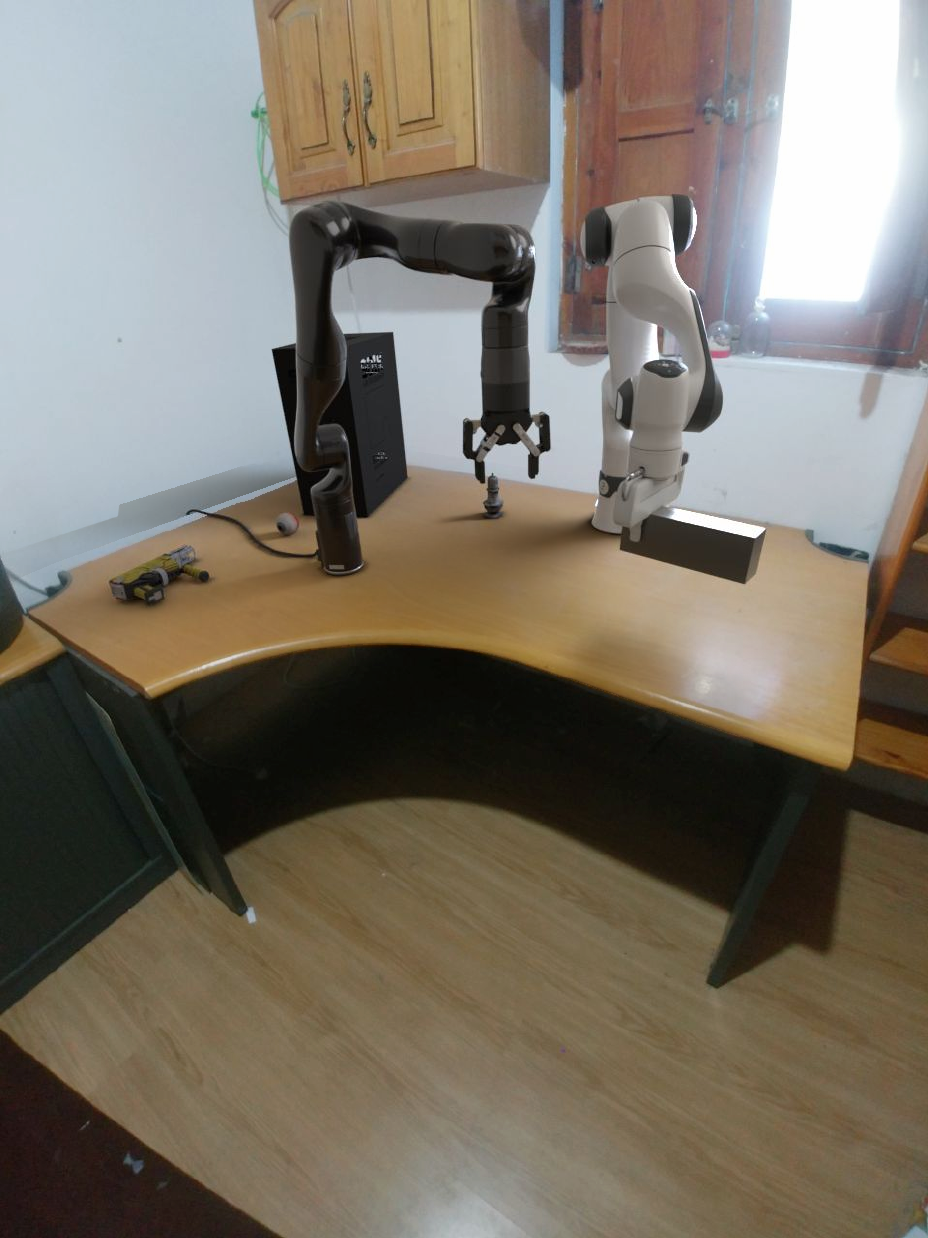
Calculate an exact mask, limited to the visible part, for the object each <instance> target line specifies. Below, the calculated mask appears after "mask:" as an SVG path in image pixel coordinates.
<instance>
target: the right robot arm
mask: <svg viewBox="0 0 928 1238" xmlns="http://www.w3.org/2000/svg"><path fill="white" fill-rule="evenodd" d="M696 227H697V214H696V210H695V206H694V202H693V200H692V199H691V197H690V196H689V195H687V194H680V193H672V194H671V195H654V196H653V195H652V196H641V197H638V198H636V199H631V200H627V201H622V202H618V203H614V204H610V205H607V206H605V205H601V206H598V207H595V208H594V209H591V210H589V211H588V213H587V214H586V216H585V217H584V221H583V224H582V226H581V230H580V235H579V236H580V237H579V243H580V249H581V253H582V255H583V257H584V259H585V262H586V263H587V264H588V265H589V266H590V267H593V268H605V267H608V274H607V281H606V303H605V304H606V305H605V307H606V308H605V309H606V310H605V311H606V314H605V315H606V321H605V322H606V323H605V324H606V325H605V326H606V328H605V329H606V330H605V331H606V333H605V336H606V338H605V339H606V345H607V351H608V359H609V369H607V370H606V372H605V373H604V375H603V377H602V381H601V421H602V422H601V423H602V424H601V426H602V453H601V468H600V470H599V474H598V492H599V493H598V498H597V500H596V503H595V511H594V514H593V517H592V520H591V525H592V526H593V527H594V528H595V529H597V530H599V531H601V532H605V533H611V534H620V535H621V531H622V526H624V527H629V529H630V540H631V541H634V542H638V541H640V540H641V539H642V535H643V531H641V526H640V525H642V521H643V520H644V519H646V518H647V517H649V515H650V514H651V513H652V512H654V511H655V510H657V509H659V508H660V507H662V506H665V507H670V504H671V503H672V502H674V501H676V500H677V499H678V497H679V496H680V494H681V491H682V487H683V483H684V478H685V474H686V465H687V464H688V463H689V461H690V455H691V453H690V451H688V450H684V449H682V448H683V438H682V433H683V432H685V433H697V434H700V433H702V432H705V430H707V429H708V428H710V427H711V426H712V425H713V424H715V422H716V421H717V420H718V419H719V417H720V416H721V414H722V411H723V405H724V393H723V387H722V384H721V381H720V379H719V377H718V374H717V371H716V370H715V369H716V368H715V366H714V365H715V364H714V362H713V356H712V353H711V348H710V344H709V340H708V339H709V338H708V335H707V330H706V327H705V322H704V317H703V314H702V310H701V306H700V303H699V302H700V301H699V300H698V297H697V294H696V292H695V290H693V289H692V288H690V287H689V286H687V285H686V284H685V283H684V281H683V280H682V278H681V276H680V275H679V272H678V270H677V266H676V262H675V261H676V260H675V258H677V257H679V256H680V255H682V254H683V253H684V252H686V250H687V249H688V248H689V247H690V246H691V244H692V240H693V238H694V235H695V232H696ZM658 327H659V328H661V329H664V330H666V331H668V332H669V333H670V334H672V335H673V336H674V338H675V339H676V341H677V344H678V347H679V348H678V349H679V352H680V353H679V354H680V357H681V361H679V360H674V359H666V358H660V354H659V346H658Z"/></svg>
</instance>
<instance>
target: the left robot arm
mask: <svg viewBox="0 0 928 1238" xmlns="http://www.w3.org/2000/svg"><path fill="white" fill-rule="evenodd" d="M535 245H536V244H535V241H534V239H533V237H532V235H531V233H530V232H529V231H528V229H526V227H523V226H522V225H519V224H513V223H512V224H510V223H496V222H495V223H493V222H491V223H490V222H462V221H458V220H453V219H443V218H431V217H415V216H414V217H413V216H404V215H403V216H402V215H394V214H388V213H384V212H379V211H376V210H370V209H368V208H365V207H362V206H359V205H356V204H352V203H350V202H346V201H341V200H336V199H327V200H323V201H321V202H318V203H315V204H312V205H310V206H306V207H304V208H302V209H300V210H299V211H297V212H296V213H295V214H294V215H293V217H292V218H291V220H290V224H289V228H288V249H289V258H290V268H291V275H292V283H293V292H294V293H293V294H294V310H295V313H294V314H295V315H294V316H295V343H296V375H297V412H296V423H295V435H294V446H295V454H296V458H297V461H298V464H299V466H300V467H301V468H302V469H303V470H304V471H307V472H317V471H322V470H327V469H330V471H329V473H328V474H327V475H326V477H325V478H323V479H322V480H321V481H319V482H318V483H316V484H315V485H314V486H313V487H312V488H311V498H312V503H313V508H314V514H315V515H314V518H315V523H316V530H315V532H314V533H315V538H316V539H315V540H316V543H317V548H316V549H315V551H314V553H308V554H307V553H306V554H300V553H292V552H286V551H280V550H276V549H274V548H272V547H270V546H268V545H265V544H264V543H262V542H261V541H260V540H259V539H257V538H256V537H255V536H254V534H253V533H252V532H251V531H250V530H249V528H247V527H246V526H245V524H243V523H242V522H240V521H239V520H237V519H235V518H232V517H230V516H227V515H223V514H219V513H212V512H208V511H207V512H206V511H203V510H200V509H195V508H194V509H193V508H192V509H189V510H187V512H186V513H185V515H187V516H188V515H190V514H192V513H199V514H201V515H205V516H210V517H216V518H222V519H225V520H228V521H231V522H233V523H235V524H237V525H239V526H240V527H241V528H242V529H243V530H244V531H245V532H246V533H247V534H248V536H249V537H250V539H252V540H253V541H254V542H255V543H256V544H258V545H259V546H260V547H262V548H263V549H265V550H267V551H269V552H272V553H274V554H277V555H282V556H288V557H294V558H314V557H317V558H316V559H317V561H318V562H320V565H321V568H322V569H323V570H324V572H325V573H326V574H329V575H331V576H347V575H352V574H355V573H358V572H359V571H361V570H362V569H363V568H364V565H365V564H364V563H365V562H364V559H363V552H362V545H361V538H360V533H359V532H360V531H359V526H358V524H359V523H358V519H357V518H358V517H356V511H355V505H354V498H353V491H352V487H353V483H352V474H351V464H350V453H349V445H348V440H347V436H346V433H345V431H344V429H343V428H342V427H341V426H340V425H339V424H337V423H330V424H324V425H319V422H320V420H321V417H322V415H323V413H324V412H325V410H326V409H327V408H328V406H329V405H330V403H331V402H332V401H333V399H334V398H335V396H336V395H337V393H338V392H339V390H340V389H341V387H342V384H343V382H344V379H345V373H346V358H347V346H346V340H345V337H344V334H345V333H344V332H343V330H342V328H341V326H340V324H339V322H338V320H337V318H336V316H335V314H334V312H333V305H332V298H333V296H332V295H333V282H334V276H335V273H336V271H338V270H341V269H343V268H345V267H347V266H349V265H350V264H351V263H353V262H354V261H359V260H364V259H365V260H366V259H375V258H376V259H378V258H379V259H386V260H390V261H393V262H395V263H397V264H399V265H400V266H402V267H404V268H406V269H407V270H410V271H412V272H413V271H414V272H418V273H423V274H429V275H439V276H447V277H456V276H458V277H460V278H465V279H469V280H472V281H476V282H477V281H478V282H483V283H491V291H490V299H489V301H488V302H487V303H486V304H485V305H484V306H483V307H482V310H481V317H480V327H481V328H480V331H481V355H480V356H481V357H480V358H481V359H480V372H479V373H480V374H479V375H480V379H481V380H480V381H481V383H480V384H481V403H482V404H481V408H482V410H481V411H482V414H481V417H480V419H470V418H468V417H465V418H464V419H463V420H462V454H463V456H464V457H465V459H466V460H473V462H474V476H475V478H476V479H475V480H477V481H479V483H480V485H483V484H484V485H485V484H486V463H485V458H486V457H487V455H488V454H489V452H491V450H492V449H493V448H494V446H495V445H497V446H499V447H500V446H506V445H518V444H519V443H520V442H521V443H522V444H523V445H524V446H525V448H526V449H527V450H528V452H529V453H528V454H527V476H528V478H529V479H530V480H535V479H536V476H538V475H539V472H540V456H541V454H543V453H548V452H550V450H551V449H552V443H551V420H550V419H551V418H550V415H549V414H547V413H546V412H544V411H539V413H536V414H531V359H530V351H529V309H530V304H531V299H532V294H533V290H534V289H533V288H534V284H535V276H536V268H537V267H536V266H537V254H536V253H537V252H536V246H535ZM533 423H534V425H535V427H536V428H538V439H539V440H538V441H539V442H538V444H536V443H535V442H534V441H533V439H532V438H531V437H530V436H529V435H528V433H527V432H528V431H529V429H530V428H531V426H532V424H533ZM479 428H481V429H482V430H483V432H484V433H485V434H484V435H483V437H482V438H481V440H480V442H479V444H478V446H477V448H476V449H475V450H474V435H476V434H477V433H478V429H479Z"/></svg>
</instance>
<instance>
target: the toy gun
mask: <svg viewBox="0 0 928 1238" xmlns="http://www.w3.org/2000/svg"><path fill="white" fill-rule="evenodd" d="M191 553H193V556H190V554H191ZM196 560H197V556H196V551H195V547H194V546H192V545H189V546H188V545H187V544H184V545H182V546H180V547H177V548H176V549H174V550H171V551H170V552H168V553H163V554H161V555H159V556H157V557H155V558H153V559H151V560H149V561H147V562H145V563H142V564H139V565H138V566H136V567H133V568H132V569H129V570H128V571H125V572H123V573H121V574H119V575H117V576H115V577H113V578H111V579H110V580H108V583H109V587H110V591H111V594H112V597H113V598H115V600H117V601H118V600H119V601H120V602H121V601H122V602H123V601H125V600H126V601H131V600H135V599H143V600H144V601H145V605H146V607H150V606H153V605H155V604H157V603H159V602H162V601H164V600H165V596H164V591H163V590H164V589H163V588H164V587H166V586H168V585H169V581H171V580H173V579H175V578H178V577H181V575H182V574H184V575H185V576H189V577H191V578H194V579H196V580H199V581H200V582H202V583H205V582H207V581H209V580H210V573H209V572H208V571H207V570H202V569H200V568H198V567H195V566H192V565H191V564H190V563H192V562H193V561H196Z"/></svg>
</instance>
